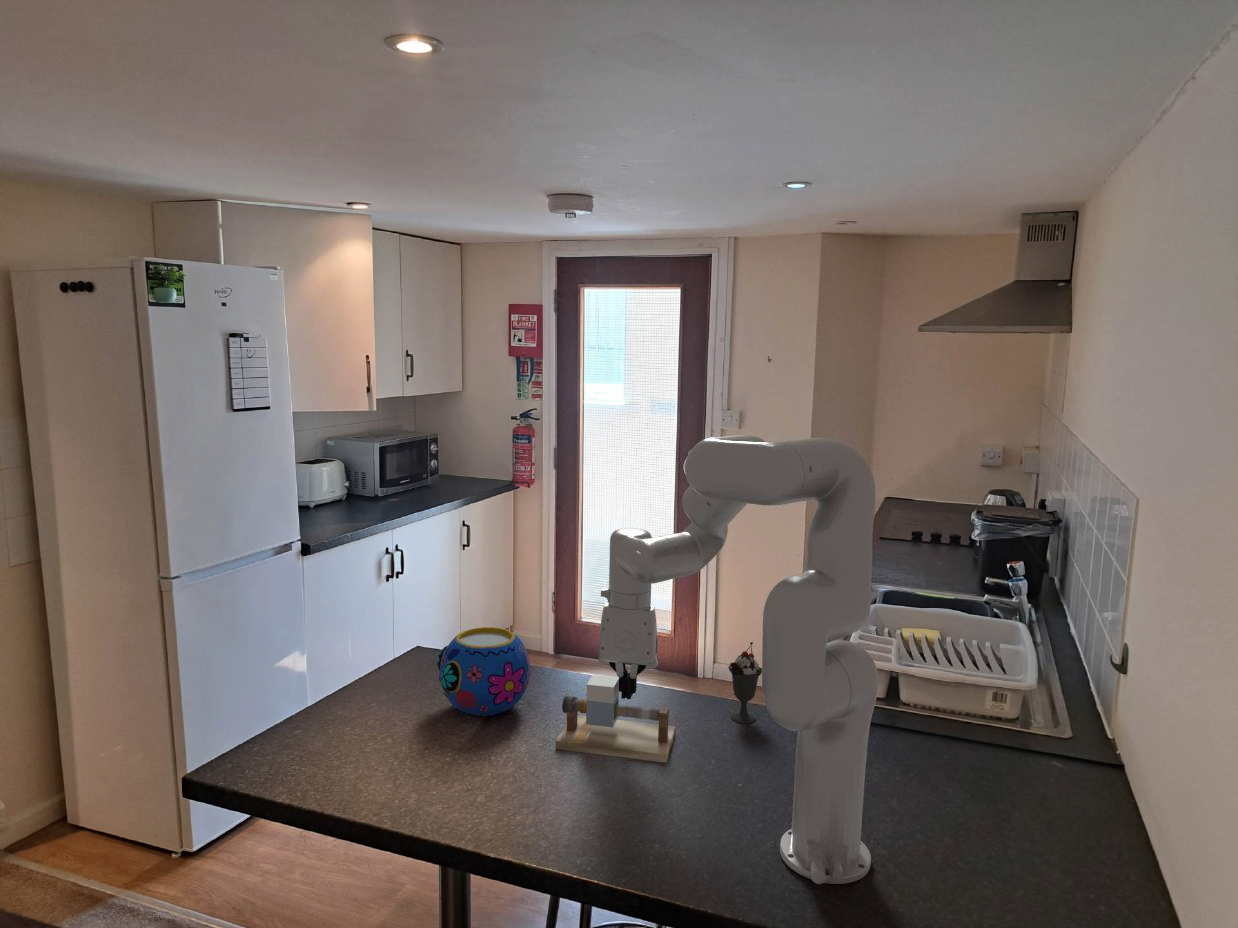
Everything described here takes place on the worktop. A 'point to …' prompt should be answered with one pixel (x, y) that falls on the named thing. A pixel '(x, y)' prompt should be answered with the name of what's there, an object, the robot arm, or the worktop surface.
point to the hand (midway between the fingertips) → (627, 695)
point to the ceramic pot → (484, 670)
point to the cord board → (618, 733)
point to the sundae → (744, 684)
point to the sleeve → (602, 700)
